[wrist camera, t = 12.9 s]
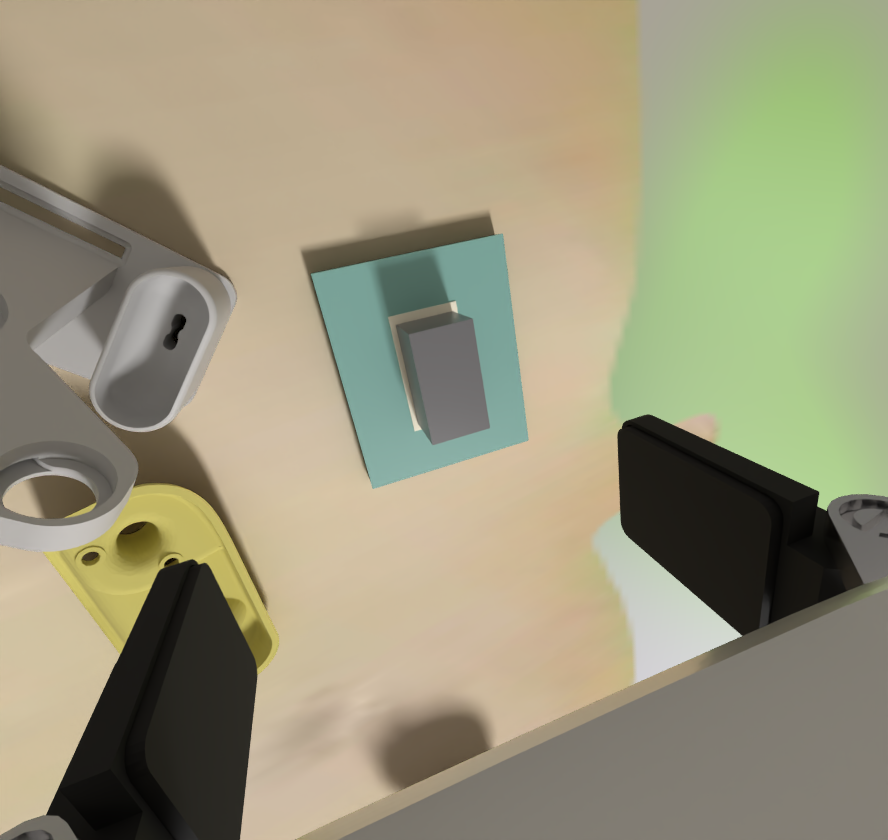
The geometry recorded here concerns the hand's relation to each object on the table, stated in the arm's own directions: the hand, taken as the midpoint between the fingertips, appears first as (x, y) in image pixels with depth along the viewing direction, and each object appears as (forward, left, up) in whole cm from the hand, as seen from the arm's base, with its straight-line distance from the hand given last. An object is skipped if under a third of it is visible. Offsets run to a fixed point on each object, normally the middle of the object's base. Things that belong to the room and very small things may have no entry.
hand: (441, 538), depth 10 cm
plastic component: (-17, -15, -27) cm, 35 cm away
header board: (+6, -4, -26) cm, 27 cm away
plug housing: (+6, -4, -25) cm, 26 cm away
